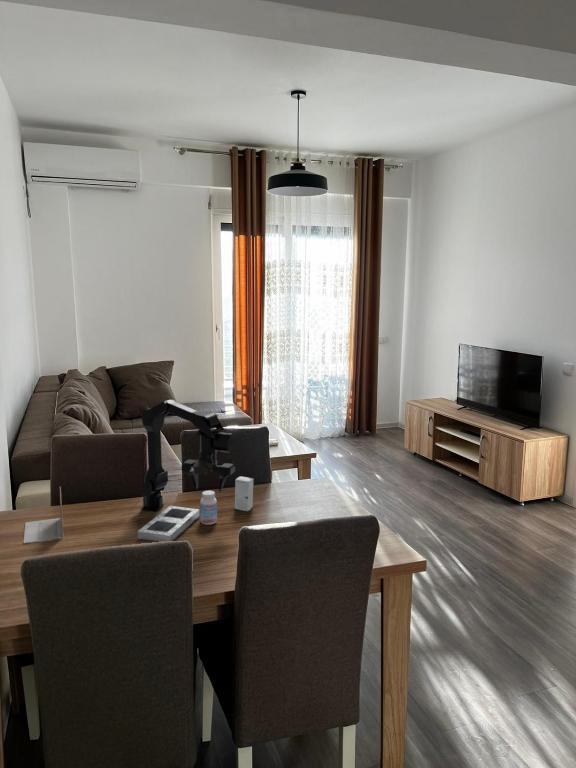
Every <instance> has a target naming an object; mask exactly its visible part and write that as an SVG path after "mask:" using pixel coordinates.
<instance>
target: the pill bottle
mask: <svg viewBox="0 0 576 768" xmlns="http://www.w3.org/2000/svg"><path fill="white" fill-rule="evenodd" d="M215 496H216V493H215V491H213V490H204V491H203V492H202V493H201V498H200V502H199V503H200V504H199V519H200V520H199V521H200V523H201V524H202V525H205V526H209V525H213V524H215V523H217V521H218V512H217V511H218V501H217V498H216V497H215Z"/></svg>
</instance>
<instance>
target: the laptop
mask: <svg viewBox="0 0 576 768" xmlns="http://www.w3.org/2000/svg"><path fill="white" fill-rule="evenodd" d="M61 487H62V486H59V506H60V517H57V518H49V519H41V520H32V521H26V522H25V523H24V531H23V532H24V533H23V540H22V541H23V542H22V543H23V544H24V545H25V544H33V543H34V544H35V543H43V542H48V541H49V542H50V541H56V540H63V539H64V538H63V537H64V530H63V529H64V526H63V525H64V524H63V523H64V522H63V519H64V518H63V506H62V488H61Z"/></svg>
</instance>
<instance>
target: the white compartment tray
mask: <svg viewBox="0 0 576 768" xmlns="http://www.w3.org/2000/svg"><path fill="white" fill-rule="evenodd" d="M198 519H200V508H199V509H198V508H191V507H182V506H174V505H169V506H168V507H166V508H165V509H164V510H163V511H161V512H160V513H159V514H158V515H156V516H155V517H154V518H153V519H151V520H150V521H149V522H147V523H146V524H145V525H143V526H142V527H141V528H140V529H138V530H137V540H138V541H145V542H153V543H158V542H159V541H173V540H174V541H175V540H176V539H177V538H179V536H181V535H182V534H183V533H184V532H185V531H186V530H188V528H189V527H191V526H192V525H193V524H194V523H195V522H196V521H197V520H198ZM174 541H173V542H174Z"/></svg>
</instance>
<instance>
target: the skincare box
mask: <svg viewBox="0 0 576 768" xmlns="http://www.w3.org/2000/svg"><path fill="white" fill-rule="evenodd" d="M234 482H235V484H234V488H235V489H234V509H235V510H239V511H244V512H249V511H251V508H252V509H253V504H254V503H253V501H254V498H253V497H254V478H252V477H247V476H238V477H237V478H235V481H234Z"/></svg>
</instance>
